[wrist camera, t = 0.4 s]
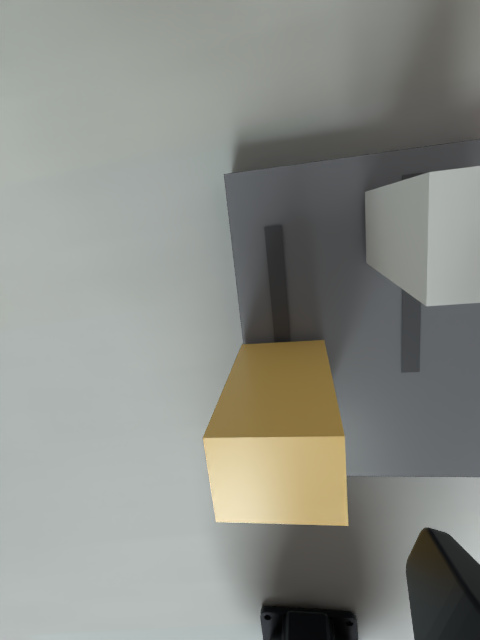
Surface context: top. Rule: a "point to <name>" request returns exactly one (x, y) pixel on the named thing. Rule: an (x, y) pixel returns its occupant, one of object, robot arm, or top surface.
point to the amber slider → (278, 439)
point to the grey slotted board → (360, 310)
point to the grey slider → (428, 235)
